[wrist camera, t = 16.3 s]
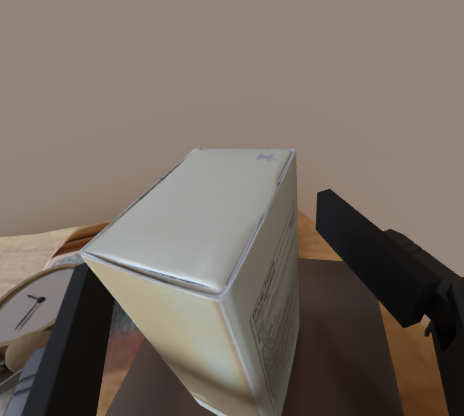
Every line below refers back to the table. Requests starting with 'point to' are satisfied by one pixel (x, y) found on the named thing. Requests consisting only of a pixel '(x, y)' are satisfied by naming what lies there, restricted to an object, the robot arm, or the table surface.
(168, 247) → the cosmetic box
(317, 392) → the board
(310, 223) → the table surface
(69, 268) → the alarm clock
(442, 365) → the robot arm
